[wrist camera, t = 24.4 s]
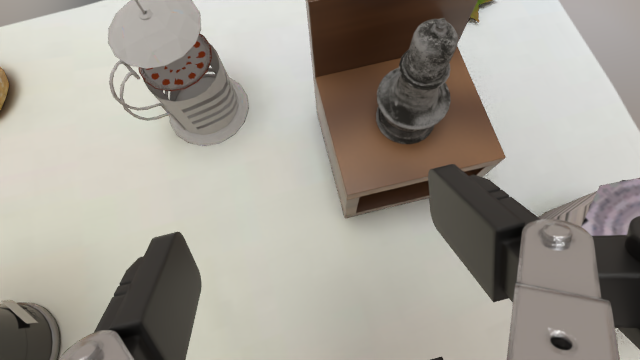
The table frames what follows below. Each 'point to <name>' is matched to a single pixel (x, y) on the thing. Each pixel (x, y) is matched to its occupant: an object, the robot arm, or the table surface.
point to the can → (603, 209)
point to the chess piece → (418, 85)
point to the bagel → (3, 87)
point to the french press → (177, 69)
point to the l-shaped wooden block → (361, 103)
